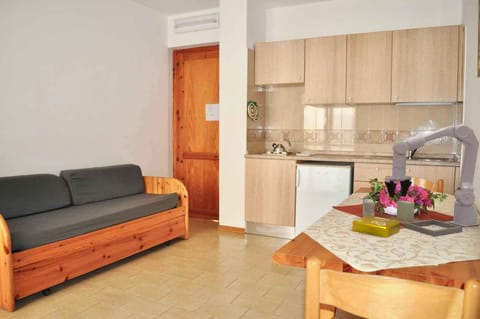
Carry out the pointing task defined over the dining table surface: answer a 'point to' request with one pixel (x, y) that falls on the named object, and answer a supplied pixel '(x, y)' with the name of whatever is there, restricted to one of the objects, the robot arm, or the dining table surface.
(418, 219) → the walnut board
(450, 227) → the grey flat square frame
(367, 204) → the medicine box
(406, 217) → the parts box
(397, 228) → the element tile
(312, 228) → the dining table surface
